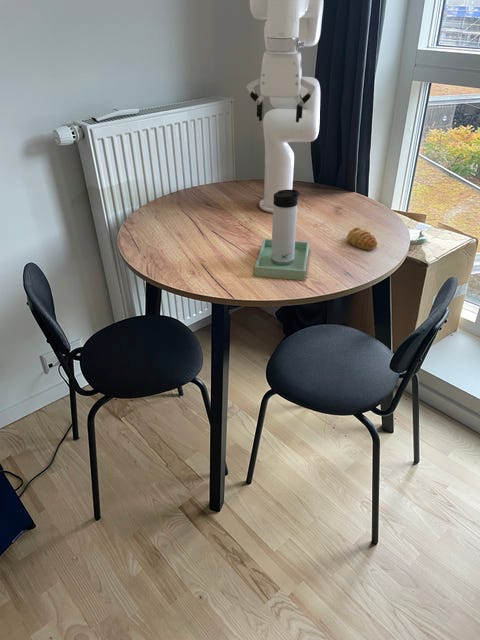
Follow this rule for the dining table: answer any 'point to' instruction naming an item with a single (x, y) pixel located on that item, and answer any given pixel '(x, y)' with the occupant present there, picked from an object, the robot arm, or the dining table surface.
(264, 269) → the tray
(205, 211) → the dining table surface
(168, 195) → the dining table surface
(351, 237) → the pastry
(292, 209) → the travel mug
